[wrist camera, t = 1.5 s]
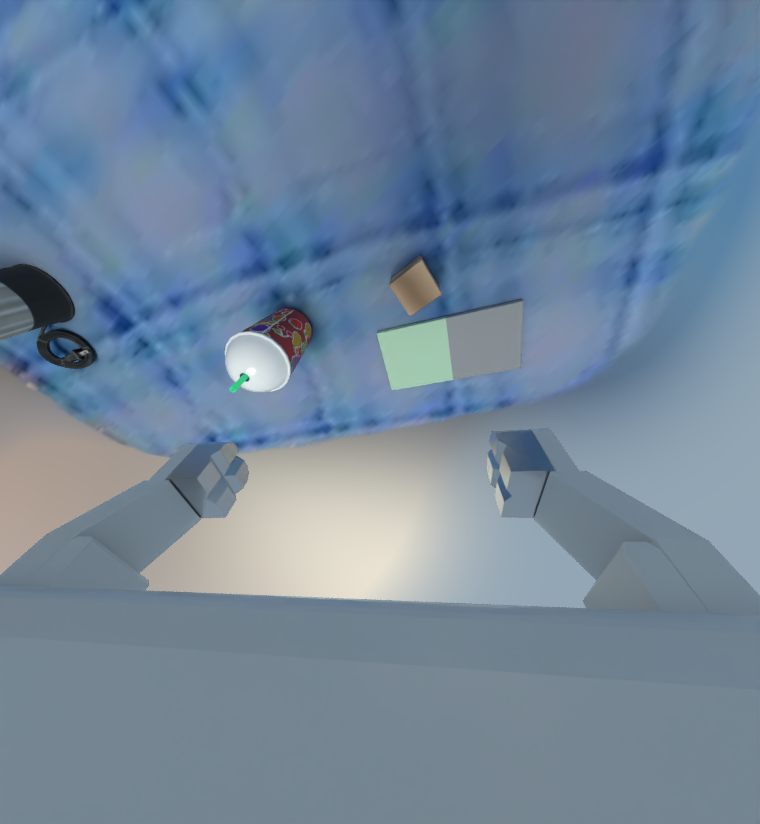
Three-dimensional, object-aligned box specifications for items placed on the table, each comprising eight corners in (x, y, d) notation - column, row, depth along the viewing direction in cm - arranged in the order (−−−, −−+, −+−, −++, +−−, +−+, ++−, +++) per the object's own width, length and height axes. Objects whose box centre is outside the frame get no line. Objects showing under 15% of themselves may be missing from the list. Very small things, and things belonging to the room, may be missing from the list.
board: (521, 299, 40) (523, 301, 40) (518, 365, 47) (520, 368, 46) (377, 331, 45) (376, 333, 44) (392, 387, 51) (392, 390, 51)
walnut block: (420, 254, 38) (421, 259, 34) (438, 285, 40) (441, 294, 36) (391, 277, 40) (389, 285, 36) (409, 306, 42) (410, 316, 38)
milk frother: (24, 250, 43) (-126, 267, 31) (122, 335, 50) (33, 375, 38) (-5, 300, 48) (-141, 330, 36) (88, 370, 55) (0, 414, 43)
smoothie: (267, 295, 43) (184, 347, 27) (319, 306, 44) (267, 363, 28) (271, 345, 48) (202, 412, 32) (318, 354, 49) (272, 425, 33)
